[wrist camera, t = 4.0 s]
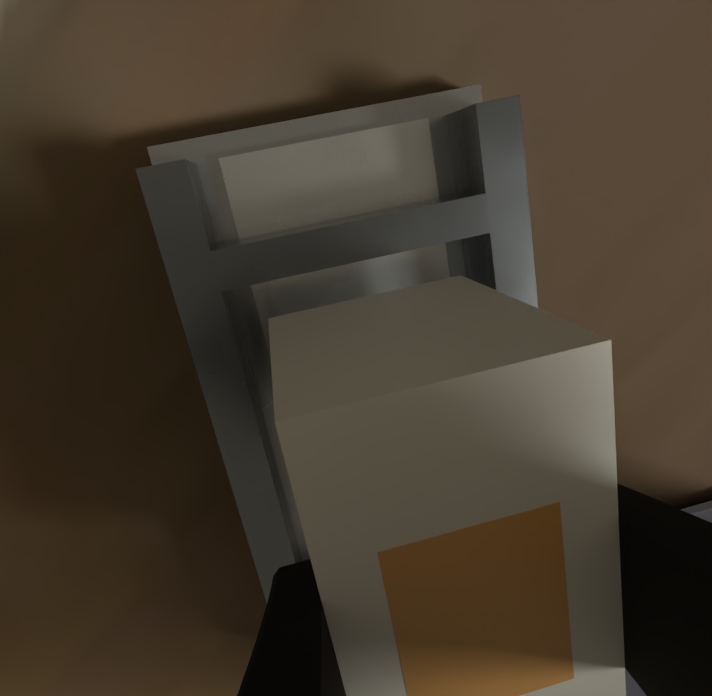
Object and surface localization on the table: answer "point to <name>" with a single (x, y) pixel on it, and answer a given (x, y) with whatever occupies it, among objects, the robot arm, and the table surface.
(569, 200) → the table surface
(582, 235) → the table surface
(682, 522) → the robot arm
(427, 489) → the module
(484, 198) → the rail mount
